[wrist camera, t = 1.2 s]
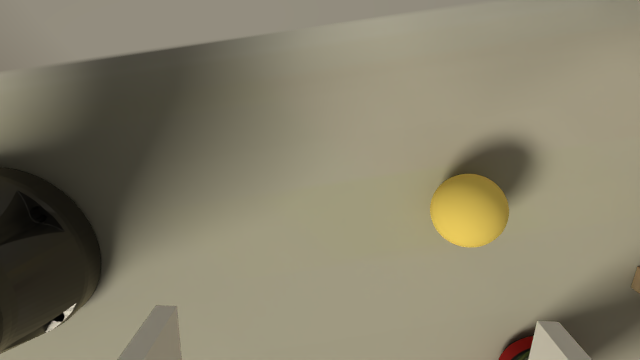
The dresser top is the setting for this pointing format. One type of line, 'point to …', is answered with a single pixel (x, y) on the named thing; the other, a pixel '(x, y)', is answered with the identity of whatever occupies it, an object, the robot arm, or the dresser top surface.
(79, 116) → the dresser top surface
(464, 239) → the ball
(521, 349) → the beverage can
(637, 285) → the bridge
